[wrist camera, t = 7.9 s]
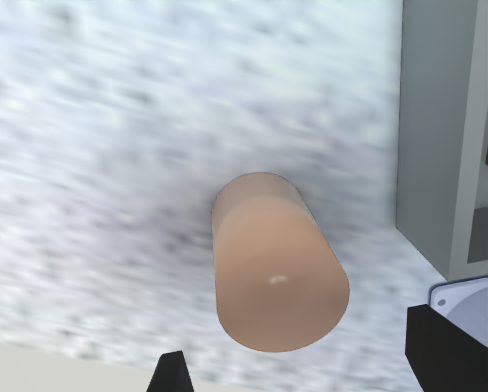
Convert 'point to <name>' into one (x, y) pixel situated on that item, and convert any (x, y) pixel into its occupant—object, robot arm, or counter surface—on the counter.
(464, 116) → the tote
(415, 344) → the robot arm
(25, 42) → the counter surface
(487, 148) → the walnut cube
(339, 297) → the terracotta cylinder
